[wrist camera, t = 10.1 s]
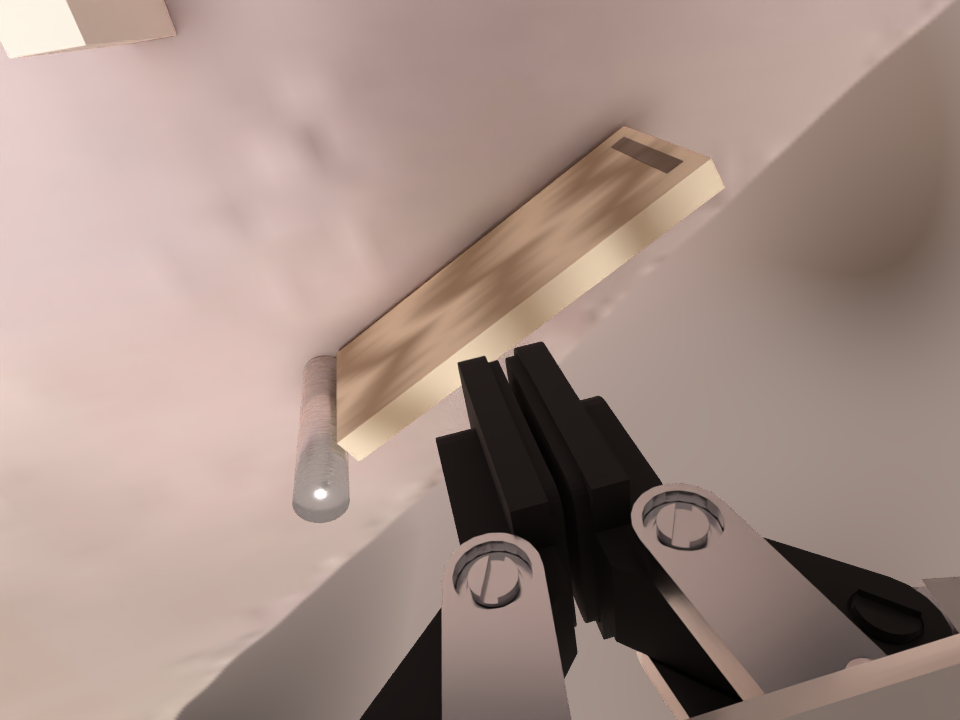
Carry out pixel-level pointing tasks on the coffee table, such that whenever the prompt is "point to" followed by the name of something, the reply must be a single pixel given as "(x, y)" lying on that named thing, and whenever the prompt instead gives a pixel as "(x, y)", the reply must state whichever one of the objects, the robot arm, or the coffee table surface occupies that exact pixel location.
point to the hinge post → (320, 448)
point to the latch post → (79, 24)
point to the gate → (515, 280)
